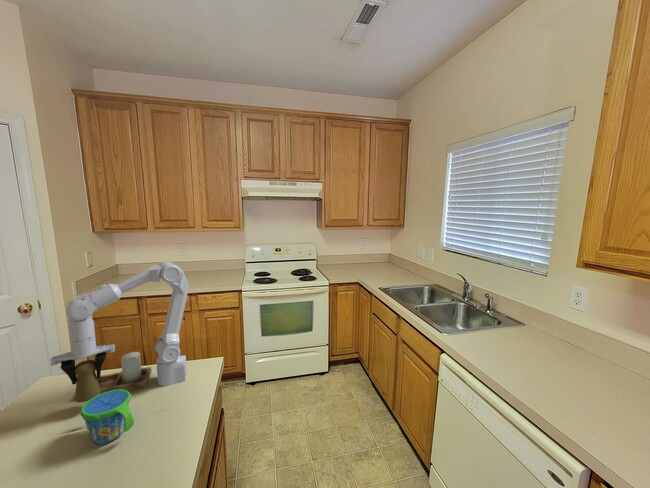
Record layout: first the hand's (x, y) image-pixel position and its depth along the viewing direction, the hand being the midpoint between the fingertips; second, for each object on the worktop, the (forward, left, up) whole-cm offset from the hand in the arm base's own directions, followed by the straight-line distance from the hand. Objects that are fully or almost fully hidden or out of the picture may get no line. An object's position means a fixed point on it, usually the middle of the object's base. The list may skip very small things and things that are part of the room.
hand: (87, 379), depth 84 cm
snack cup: (-9, +14, -11) cm, 19 cm away
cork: (0, 0, -6) cm, 6 cm away
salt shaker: (-9, -11, -10) cm, 17 cm away
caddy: (-4, -11, -10) cm, 16 cm away
